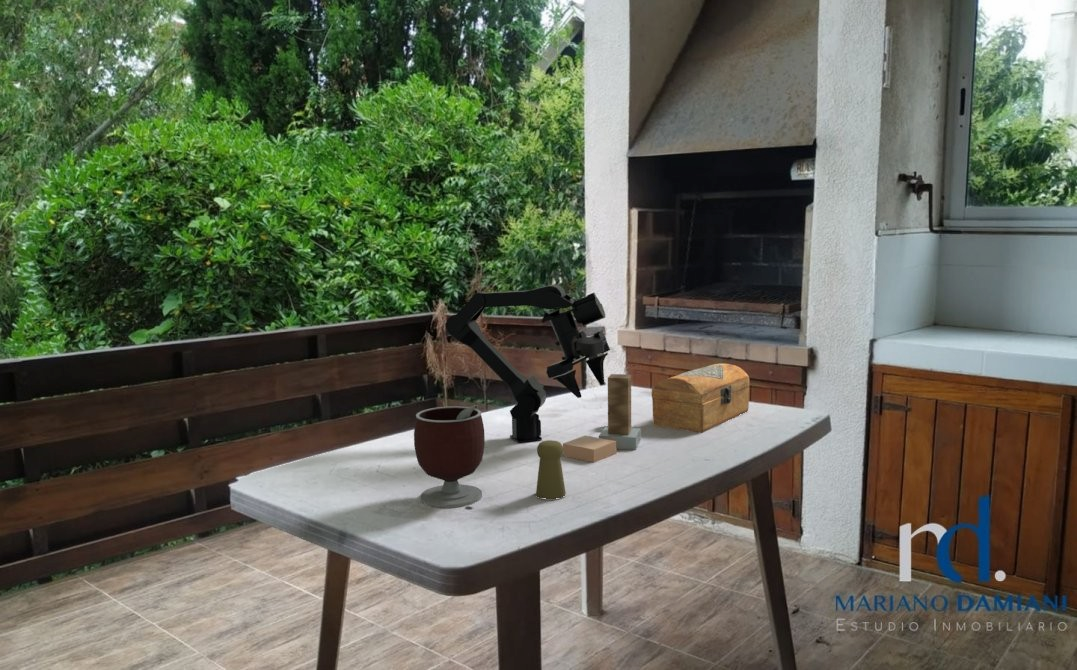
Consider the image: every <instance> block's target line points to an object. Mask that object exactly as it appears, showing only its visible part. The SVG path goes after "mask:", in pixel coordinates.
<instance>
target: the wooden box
mask: <svg viewBox="0 0 1077 670" xmlns="http://www.w3.org/2000/svg"><path fill="white" fill-rule="evenodd" d="M651 398H652V400H651V402H652V421H653V426H656V427H661V426H662V427H661V428H667V427H668V429H674V430H681V429H682V430H681V431H687V430H688V431H689V432H694V433H699V432H700V433H701V434H703V433H705V432H707V431H709V430H711V429H713V428H715V427H716V428H717V427H718V426H720V425H722V424H724V423H727V422H728V420H729V421H730V419H731V420H732V418H733V419H735V418H737V417H739V415H740V414H742V415H744V414H746V413H748V412H747V411H749V407H750V376H749V375H748V374H747V372H746V370H744V369H743V368H741V367H739V366H737V365H734V364H730V363H714V364H711V365H710V364H709V365H707V366H704V367H699V368H694V369H692V370H688V371H685V372H683V373H680V374H677V375H675V376H671V377H669V378H664V379H661V380H659V381H658V382H657V383H656V384H655V385H654V386H653V387H652V388H651ZM745 412H746V413H745ZM743 413H744V414H743ZM740 416H741V415H740ZM726 421H727V422H726Z"/></svg>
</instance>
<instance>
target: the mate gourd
mask: <svg viewBox="0 0 1077 670" xmlns="http://www.w3.org/2000/svg"><path fill="white" fill-rule="evenodd" d="M415 417H416V418H415V422H414V430H413V443H414V445H413V446H414V451H415V456H416V460H417V463H418V465H419V467H420V468H421V469H422V470H423V472H425V474H426V476H429V477H432V478H435V479H438V480H441V481H444V482H443V484H442V485H436V486H433V487H430V488H427V489H425V490H423V492H421V494H420V501H422V504H424V503H425V504H424V505H426V504H427V505H426V506H429V505H430V506H429V507H433V506H434V508H440V507H441V508H443V509H444V508H445V509H446V508H447V509H450V508H461V506H462V507H465V506H466V505H467V506H470V505H473V504H475V502H476V503H477V502H479V501H481V499H482V498H483V491H482V489H481V488H480V487H477V486H473V485H470V484H460V483H459V480H460V479H462V478H465V477H467V476H470V475H473V473H475V472H476V470H477V468H478V467H479V466H480V465H481V463H482V461H483V457H484V454H485V453H484V452H485V441H486V440H485V439H486V438H485V427H484V420H483V417H482V411H481V409H480V410H479V409H478V405H477V404H475V405H472V406H456V405H455V406H452V405H451V406H439V407H432V408H427V409H423V410H420V411H419V412H417V413H416V414H415ZM469 504H470V505H469Z"/></svg>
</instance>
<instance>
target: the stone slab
mask: <svg viewBox="0 0 1077 670" xmlns="http://www.w3.org/2000/svg"><path fill="white" fill-rule="evenodd" d="M641 432H642V431H641V428H637V427H634V428H633V427H631V432H630V433H629V435H616V434H608V426H605V427H604V428H603V429H602V431H600V434H599V435H598V438H602V439H607V440H613V441H616V450H631V451H632V450H633V451H635V450H637V449H638V446H639V444H640V442H641V440H642V439H641Z"/></svg>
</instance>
